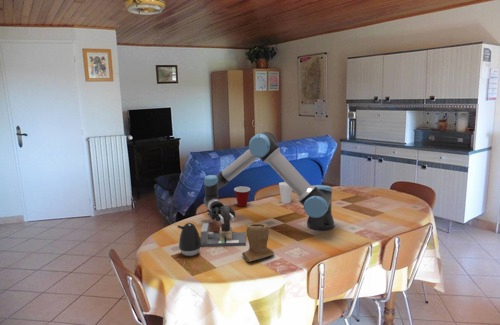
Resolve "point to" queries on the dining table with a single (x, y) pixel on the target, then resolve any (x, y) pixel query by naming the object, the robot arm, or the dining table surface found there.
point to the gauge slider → (225, 224)
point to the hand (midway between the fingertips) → (228, 220)
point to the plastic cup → (242, 195)
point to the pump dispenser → (189, 240)
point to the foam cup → (285, 192)
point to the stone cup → (257, 242)
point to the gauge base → (214, 238)
